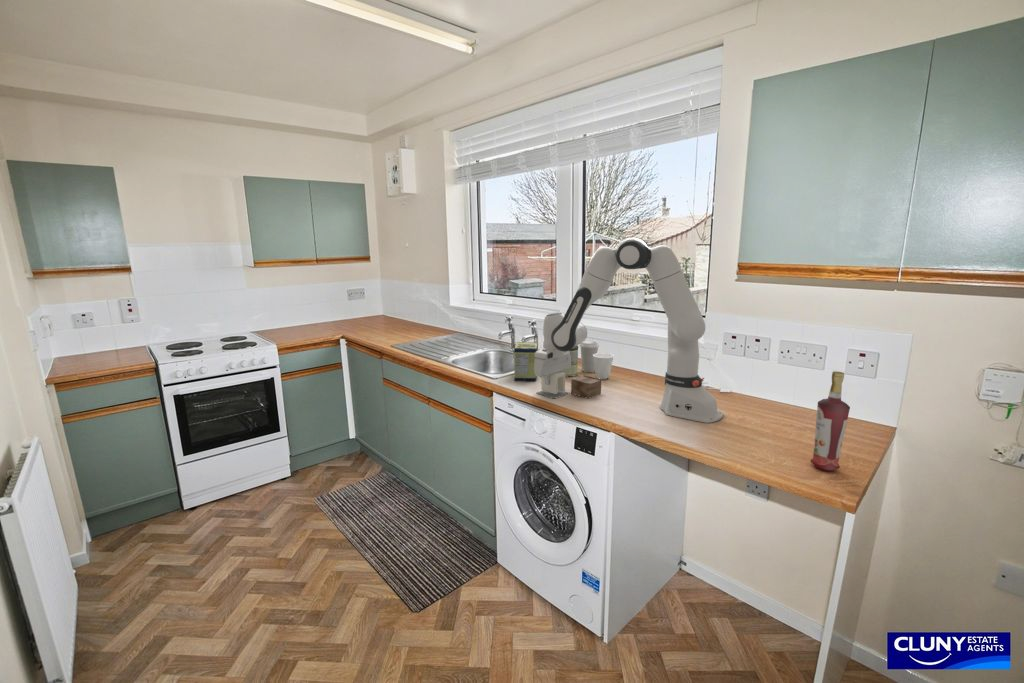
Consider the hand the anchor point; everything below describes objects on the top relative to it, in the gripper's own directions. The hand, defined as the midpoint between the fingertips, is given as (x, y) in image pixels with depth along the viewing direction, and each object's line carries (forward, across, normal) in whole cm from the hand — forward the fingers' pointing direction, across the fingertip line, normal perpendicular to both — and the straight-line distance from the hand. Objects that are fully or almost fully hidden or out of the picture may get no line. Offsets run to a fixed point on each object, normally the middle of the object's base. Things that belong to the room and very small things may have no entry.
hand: (553, 382), depth 195 cm
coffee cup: (+5, -40, -11) cm, 42 cm away
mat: (+5, 0, 0) cm, 5 cm away
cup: (+5, -35, +1) cm, 35 cm away
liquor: (+5, -4, +98) cm, 98 cm away
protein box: (+5, -10, -26) cm, 29 cm away
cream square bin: (+4, 0, 0) cm, 4 cm away
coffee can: (+5, -28, -15) cm, 32 cm away
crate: (+5, -10, +10) cm, 15 cm away
